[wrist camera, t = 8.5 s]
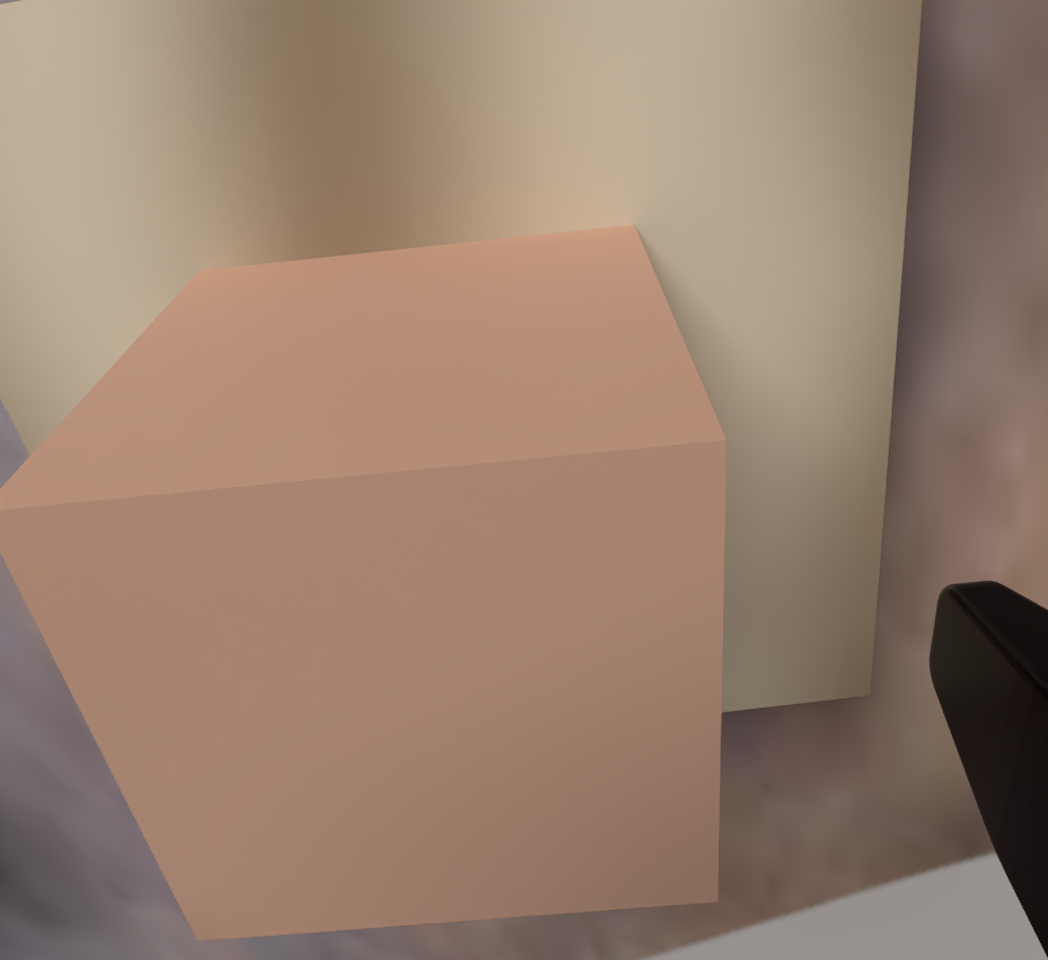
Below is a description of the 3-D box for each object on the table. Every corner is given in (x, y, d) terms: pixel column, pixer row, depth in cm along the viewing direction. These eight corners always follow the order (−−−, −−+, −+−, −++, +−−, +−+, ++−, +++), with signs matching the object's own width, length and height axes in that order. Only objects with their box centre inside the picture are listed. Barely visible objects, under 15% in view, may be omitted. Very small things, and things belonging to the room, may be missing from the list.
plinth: (846, -143, 10) (934, -161, 8) (823, 593, 16) (870, 695, 14) (-51, 17, 11) (-184, 37, 9) (231, 666, 17) (190, 773, 15)
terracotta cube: (634, 224, 10) (726, 439, 6) (647, 575, 13) (717, 903, 8) (199, 271, 10) (-21, 512, 6) (299, 606, 13) (198, 940, 9)
